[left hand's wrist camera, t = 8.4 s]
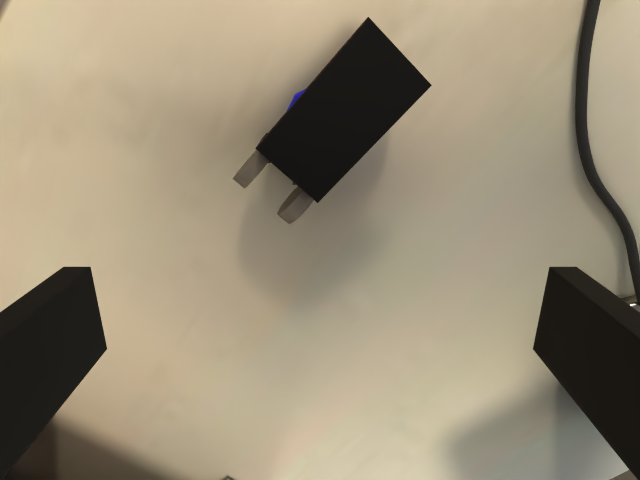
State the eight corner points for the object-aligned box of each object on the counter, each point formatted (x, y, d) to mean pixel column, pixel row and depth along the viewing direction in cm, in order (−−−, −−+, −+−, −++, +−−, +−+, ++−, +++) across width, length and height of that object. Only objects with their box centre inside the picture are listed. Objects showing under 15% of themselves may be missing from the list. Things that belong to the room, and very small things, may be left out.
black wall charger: (301, 206, 40) (421, 77, 34) (289, 241, 33) (438, 87, 27) (243, 158, 38) (360, 15, 33) (219, 184, 31) (361, 9, 26)
